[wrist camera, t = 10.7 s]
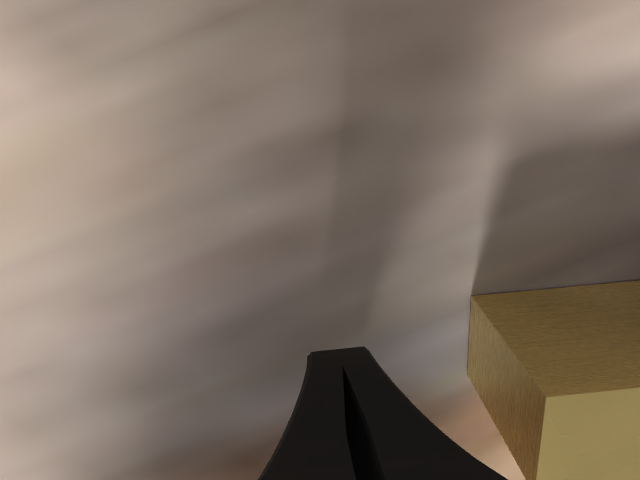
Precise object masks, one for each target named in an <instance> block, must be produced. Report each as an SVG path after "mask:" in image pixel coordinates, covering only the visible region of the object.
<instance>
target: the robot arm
mask: <svg viewBox="0 0 640 480" xmlns="http://www.w3.org/2000/svg"><path fill="white" fill-rule="evenodd" d="M258 480H508V479H506V478H505V477H503V476H502V475H500V474H498V473H497V472H495V471H494V470H492V469H491V468H489V467H488V466H486V465H485V464H483V463H482V462H480V461H479V460H477V459H476V458H474V457H473V456H472V455H470V454H469V453H468V452H466V451H465V450H464V449H462V448H461V447H460V446H459V445H457V444H456V443H455V442H454V441H452V440H451V439H450V438H449V437H448V436H446V435H445V434H444V433H443V432H442V431H441V430H440V429H438V428H437V427H436V426H435V425H434V424H433V423H432V422H431V421H430V420H429V419H428V418H427V417H425V416H424V415H423V414H422V413H421V412H420V411H419V410H418V409H417V408H416V407H415V406H414V405H413V404H412V403H411V402H410V400H409V399H408V398H407V397H406V396H405V395H404V394H403V393H402V392H401V391H400V390H399V389H398V387H397V386H396V385H395V384H394V383H393V382H392V381H391V379H390V378H389V377H388V376H387V374H386V373H385V372H384V371H383V370H382V368H381V367H380V366H379V364H378V363H377V362H376V360H375V359H374V358H373V356H372V355H371V353H370V352H369V350H367V349H366V348H365V347H356V348H346V349H336V350H325V351H315V352H311V353H310V354H309V355H308V356H307V368H306V373H305V378H304V381H303V385H302V388H301V391H300V394H299V397H298V400H297V403H296V405H295V408H294V411H293V413H292V416H291V418H290V420H289V422H288V425H287V427H286V429H285V431H284V433H283V436H282V438H281V440H280V442H279V444H278V446H277V448H276V450H275V451H274V453H273V455H272V457H271V459H270V460H269V462H268V464H267V466H266V467H265V469H264V471H263V472H262V474H261V475H260V477H259V478H258Z"/></svg>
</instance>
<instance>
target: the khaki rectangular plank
mask: <svg viewBox="0 0 640 480" xmlns="http://www.w3.org/2000/svg"><path fill="white" fill-rule="evenodd" d="M467 375H468V377H469V378H470V380H471V382H472V384H473V386H474V387H475V389H476V391H477V393H478V394H479V396H480V398H481V400H482V402H483V403H484V405H485V407H486V409H487V411H488V412H489V414H490V416H491V418H492V420H493V421H494V423H495V425H496V427H497V429H498V430H499V432H500V434H501V436H502V437H503V439H504V441H505V443H506V445H507V446H508V448H509V450H510V452H511V454H512V455H513V457H514V459H515V461H516V463H517V464H518V466H519V468H520V470H521V472H522V473H523V475H524V477H525V479H526V480H640V280H638V281H627V282H616V283H606V284H595V285H584V286H573V287H562V288H552V289H541V290H530V291H519V292H508V293H498V294H487V295H476V296H471V311H470V330H469V350H468V369H467Z"/></svg>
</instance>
